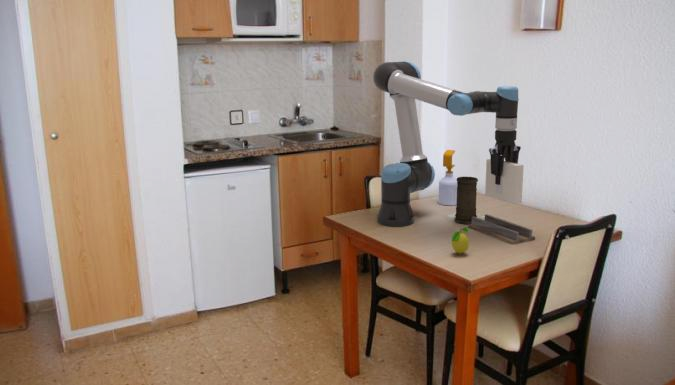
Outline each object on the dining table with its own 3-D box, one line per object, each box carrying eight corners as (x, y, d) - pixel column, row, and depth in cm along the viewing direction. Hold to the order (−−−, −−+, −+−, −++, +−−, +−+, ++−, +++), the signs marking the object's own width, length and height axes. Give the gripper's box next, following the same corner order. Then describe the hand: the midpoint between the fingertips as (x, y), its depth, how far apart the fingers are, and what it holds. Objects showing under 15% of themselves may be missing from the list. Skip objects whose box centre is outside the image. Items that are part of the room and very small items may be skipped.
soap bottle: (461, 202, 258) (463, 149, 252) (454, 206, 251) (455, 152, 245) (442, 200, 263) (444, 148, 257) (435, 204, 255) (436, 151, 250)
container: (477, 224, 223) (479, 181, 219) (454, 224, 225) (455, 180, 220) (476, 218, 231) (478, 176, 227) (454, 217, 233) (455, 175, 229)
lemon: (468, 251, 193) (469, 223, 190) (471, 256, 187) (472, 228, 185) (448, 251, 193) (449, 223, 191) (451, 256, 187) (452, 228, 185)
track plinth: (512, 244, 199) (512, 233, 198) (468, 227, 220) (468, 217, 219) (534, 239, 204) (535, 229, 203) (489, 223, 225) (490, 213, 224)
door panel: (515, 204, 201) (517, 165, 198) (485, 195, 215) (486, 159, 212) (522, 202, 202) (524, 164, 199) (492, 194, 216) (493, 158, 213)
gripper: (496, 132, 196) (493, 197, 201) (530, 128, 203) (526, 191, 208) (481, 130, 202) (479, 193, 208) (515, 127, 209) (512, 188, 215)
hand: (503, 192), depth 208 cm, fingers closed on door panel, 3 cm apart
